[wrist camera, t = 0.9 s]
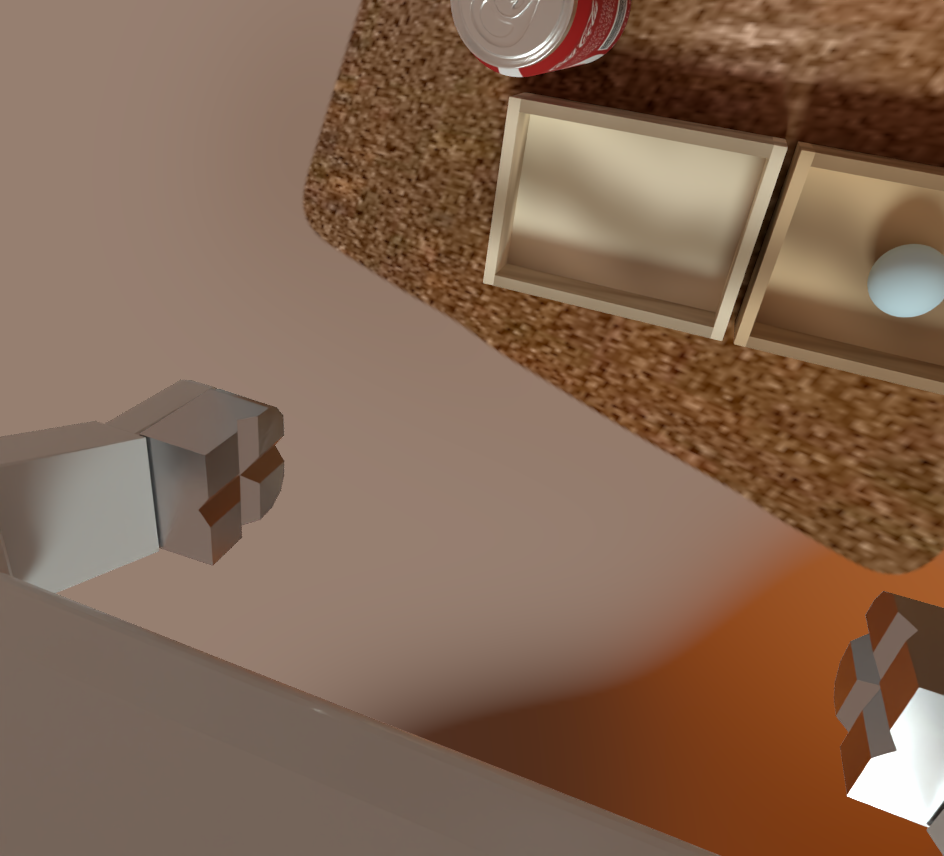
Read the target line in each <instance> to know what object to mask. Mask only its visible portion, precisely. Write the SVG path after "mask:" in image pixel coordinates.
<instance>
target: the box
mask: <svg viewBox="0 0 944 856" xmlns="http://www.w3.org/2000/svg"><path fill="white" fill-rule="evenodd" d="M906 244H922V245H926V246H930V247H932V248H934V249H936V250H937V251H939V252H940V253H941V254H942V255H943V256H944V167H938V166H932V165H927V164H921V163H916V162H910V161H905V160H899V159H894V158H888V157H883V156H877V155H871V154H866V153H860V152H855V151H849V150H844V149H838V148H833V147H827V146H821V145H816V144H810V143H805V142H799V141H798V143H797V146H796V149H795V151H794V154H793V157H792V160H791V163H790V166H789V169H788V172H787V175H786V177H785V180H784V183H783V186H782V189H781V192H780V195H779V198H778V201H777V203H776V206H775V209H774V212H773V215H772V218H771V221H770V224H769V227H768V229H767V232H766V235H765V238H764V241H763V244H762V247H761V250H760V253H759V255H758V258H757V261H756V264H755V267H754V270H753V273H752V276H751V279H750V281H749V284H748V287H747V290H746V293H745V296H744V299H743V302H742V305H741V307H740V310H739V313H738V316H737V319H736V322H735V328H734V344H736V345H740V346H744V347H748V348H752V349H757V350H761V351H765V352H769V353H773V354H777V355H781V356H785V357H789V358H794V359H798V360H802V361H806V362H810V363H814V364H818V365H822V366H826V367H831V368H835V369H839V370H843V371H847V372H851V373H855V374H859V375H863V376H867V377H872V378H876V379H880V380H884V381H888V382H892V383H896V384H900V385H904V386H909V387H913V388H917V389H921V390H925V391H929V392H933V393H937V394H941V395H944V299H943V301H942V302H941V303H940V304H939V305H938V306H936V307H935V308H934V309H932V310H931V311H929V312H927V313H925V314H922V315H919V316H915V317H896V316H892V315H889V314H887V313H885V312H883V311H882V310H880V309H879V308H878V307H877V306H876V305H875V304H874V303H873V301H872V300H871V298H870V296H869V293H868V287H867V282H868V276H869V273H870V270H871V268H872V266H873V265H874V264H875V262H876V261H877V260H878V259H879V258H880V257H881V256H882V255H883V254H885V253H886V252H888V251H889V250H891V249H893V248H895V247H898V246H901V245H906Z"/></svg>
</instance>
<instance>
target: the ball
mask: <svg viewBox="0 0 944 856" xmlns="http://www.w3.org/2000/svg"><path fill="white" fill-rule="evenodd" d="M867 287H868V293H869V296H870V298H871V300H872V301H873V303H874V304H875V305H876V306H877V307H878V308H879V309H880V310H882V311H883V312H885V313H887V314H889V315H892V316H896V317H915V316H919V315H922V314H925V313H927V312H929V311H931V310H932V309H934V308H935V307H936V306H938V305H939V304H940V303H941V302H942V301H943V299H944V256H943V255H942V254H941V253H940V252H939V251H937V250H936V249H934V248H932V247H930V246H926V245H922V244H906V245H901V246H898V247H895V248H893V249H891V250H889V251H888V252H886V253H885V254H883V255H882V256H881V257H880V258H879V259H878V260H877V261H876V262H875V264H874V265H873V266H872V268H871V270H870V273H869V276H868V282H867Z"/></svg>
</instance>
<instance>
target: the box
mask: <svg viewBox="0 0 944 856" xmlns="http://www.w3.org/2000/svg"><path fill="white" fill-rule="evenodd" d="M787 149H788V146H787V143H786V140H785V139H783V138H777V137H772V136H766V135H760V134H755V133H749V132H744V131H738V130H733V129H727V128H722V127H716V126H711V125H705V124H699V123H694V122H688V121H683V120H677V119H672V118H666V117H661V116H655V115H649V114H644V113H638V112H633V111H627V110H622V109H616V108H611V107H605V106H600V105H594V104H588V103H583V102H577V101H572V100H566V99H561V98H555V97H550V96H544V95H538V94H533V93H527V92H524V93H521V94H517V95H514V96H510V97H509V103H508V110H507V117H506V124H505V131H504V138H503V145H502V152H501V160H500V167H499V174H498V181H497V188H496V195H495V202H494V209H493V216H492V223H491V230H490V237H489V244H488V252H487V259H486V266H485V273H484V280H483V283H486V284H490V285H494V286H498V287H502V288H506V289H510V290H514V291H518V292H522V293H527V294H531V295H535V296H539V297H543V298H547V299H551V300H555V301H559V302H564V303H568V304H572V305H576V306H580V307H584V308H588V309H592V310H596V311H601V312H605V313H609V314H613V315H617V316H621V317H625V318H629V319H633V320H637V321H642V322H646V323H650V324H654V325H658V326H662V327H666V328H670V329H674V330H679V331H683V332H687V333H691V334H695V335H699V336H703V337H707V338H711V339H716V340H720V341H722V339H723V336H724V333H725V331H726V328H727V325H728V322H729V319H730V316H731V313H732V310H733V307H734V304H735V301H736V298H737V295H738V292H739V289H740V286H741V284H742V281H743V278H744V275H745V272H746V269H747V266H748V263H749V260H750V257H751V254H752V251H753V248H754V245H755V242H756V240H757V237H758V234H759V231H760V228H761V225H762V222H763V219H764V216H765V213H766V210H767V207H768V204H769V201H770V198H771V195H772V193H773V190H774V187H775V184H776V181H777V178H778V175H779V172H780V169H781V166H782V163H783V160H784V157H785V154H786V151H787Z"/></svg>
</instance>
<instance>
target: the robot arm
mask: <svg viewBox="0 0 944 856" xmlns="http://www.w3.org/2000/svg"><path fill="white" fill-rule="evenodd" d="M283 436H284V423H283V414H282V413H281V412H280V411H279V409H278V408H277V407H274V406H270V405H267V404H265V403H261V402H258V401H255V400H252V399H249V398H246V397H243V396H240V395H237V394H234V393H231V392H228V391H225V390H221V389H217V388H215V387H212V386H209V385H205V384H202V383H199V382H195V381H192V380H180V381H178V382H176V383H175V384H173V385H171V386H169V387H167V388H166V389H164V390H162V391H160V392H159V393H157V394H155V395H154V396H152V397H150V398H148V399H147V400H145V401H143V402H141V403H140V404H138V405H136V406H135V407H133V408H131V409H129V410H128V411H126V412H124V413H122V414H121V415H119V416H117V417H116V418H114V419H112V420H110V421H109V422H107V423H105V424H103V423H100V422H97V421H92V422H87V423H80V424H74V425H68V426H62V427H57V428H50V429H45V430H38V431H32V432H26V433H21V434H14V435H8V436H2V437H0V856H720V855H717V854H715V853H712V852H710V851H707V850H704V849H702V848H699V847H697V846H695V845H692V844H690V843H687V842H684V841H682V840H679V839H677V838H674V837H672V836H669V835H667V834H664V833H662V832H659V831H657V830H654V829H652V828H649V827H647V826H644V825H641V824H639V823H637V822H634V821H631V820H629V819H626V818H624V817H621V816H619V815H616V814H614V813H611V812H609V811H606V810H604V809H601V808H598V807H596V806H594V805H591V804H588V803H586V802H584V801H581V800H578V799H576V798H573V797H571V796H568V795H566V794H563V793H561V792H558V791H556V790H553V789H551V788H548V787H546V786H543V785H541V784H538V783H536V782H533V781H531V780H528V779H525V778H523V777H520V776H518V775H515V774H513V773H510V772H508V771H505V770H502V769H500V768H497V767H495V766H492V765H490V764H487V763H485V762H482V761H480V760H477V759H474V758H472V757H469V756H467V755H464V754H462V753H459V752H457V751H454V750H452V749H449V748H447V747H444V746H442V745H439V744H436V743H434V742H431V741H428V740H426V739H424V738H421V737H419V736H416V735H414V734H411V733H408V732H406V731H403V730H400V729H398V728H396V727H393V726H391V725H388V724H386V723H383V722H380V721H378V720H375V719H373V718H370V717H368V716H365V715H363V714H360V713H358V712H355V711H352V710H350V709H347V708H345V707H342V706H340V705H337V704H335V703H332V702H330V701H327V700H325V699H322V698H319V697H317V696H314V695H312V694H309V693H307V692H304V691H301V690H299V689H297V688H294V687H291V686H289V685H286V684H284V683H281V682H279V681H276V680H274V679H271V678H268V677H266V676H264V675H261V674H258V673H256V672H253V671H251V670H248V669H245V668H243V667H241V666H238V665H236V664H233V663H230V662H228V661H225V660H223V659H220V658H218V657H215V656H213V655H210V654H208V653H205V652H203V651H200V650H197V649H195V648H192V647H190V646H187V645H185V644H182V643H180V642H177V641H175V640H172V639H170V638H167V637H165V636H162V635H159V634H157V633H154V632H152V631H149V630H147V629H144V628H142V627H139V626H137V625H134V624H132V623H129V622H126V621H124V620H121V619H119V618H116V617H114V616H111V615H109V614H106V613H104V612H101V611H99V610H96V609H93V608H91V607H88V606H86V605H83V604H81V603H78V602H76V601H73V600H70V599H68V598H66V597H63V596H61V595H58V594H55V593H57V592H59V591H62V590H64V589H67V588H69V587H72V586H74V585H77V584H79V583H82V582H84V581H87V580H89V579H91V578H94V577H96V576H99V575H101V574H104V573H106V572H109V571H111V570H114V569H116V568H118V567H121V566H123V565H126V564H128V563H131V562H133V561H135V560H138V559H141V558H143V557H145V556H148V555H151V554H153V553H156V552H158V551H159V548H161V549H164V550H167V551H170V552H173V553H176V554H179V555H183V556H185V557H188V558H191V559H195V560H197V561H200V562H203V563H207V564H210V565H214V564H215V563H216V562H217V561H218V560H219V559H220V558H221V557H222V556H223V555H224V554H225V553H227V551H229V550H230V549H231V548H232V547H233V546H234V545H235V544H236V543H237V542H238V541H239V540H240V539H241V538H242V525H245V524H248V523H251V522H254V521H258V520H260V519H261V518H263V516H264V515H265V514H266V513H267V512H268V511H269V510H270V509H271V508H272V506H273V505H274V503H275V501H276V499H277V497H278V495H279V493H280V491H281V487H282V482H283V478H284V460H283V458H282V457H281V455H280V453H279V451H278V450H277V448H276V446H275V445H276V444H277V442H278V441H279V440H280V439H281V438H282V437H283ZM866 620H867V625H868V630H869V634H867V635H864V636H862V637H860V638H857V639H855V640H853V641H851V642H850V644H849V645H848V647H847V649H846V651H845V653H844V655H843V657H842V659H841V661H840V664H839V668H838V672H837V676H836V680H835V688H834V689H835V690H834V703H835V712H836V717H837V718H838V719H839V721H840V722H841V723H842V724H843V726H844V727H845V728H846V729H847V731H848V732H849V733H848V734H847V736H846V738H845V739H844V741H843V743H842V745H841V746H840V750H841V757H842V764H843V770H844V777H845V784H846V791H847V796H849V797H852V798H854V799H857V800H860V801H862V802H865V803H867V804H870V805H872V806H875V807H878V808H880V809H883V810H885V811H888V812H890V813H893V814H896V815H898V816H901V817H903V818H906V819H908V820H911V821H914V822H916V823H919V824H921V825H924V826H926V827H929V828H928V829H927V832H928V833H929V834H930V836H931V838H932V839H933V841H934V842H935V844H936V845H937V847H938V848H939V850H940V851H941V852H942V854H943V855H944V608H942V607H938V606H935V605H931V604H928V603H924V602H921V601H917V600H913V599H910V598H906V597H903V596H899V595H896V594H892V593H889V592H885V591H883V592H882V593H881V594H880V595H879V596H878V597H877V598H876V599H875V600H874V601H873V603H872V605H871V606H870V608H869V610H868V612H867V614H866Z"/></svg>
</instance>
